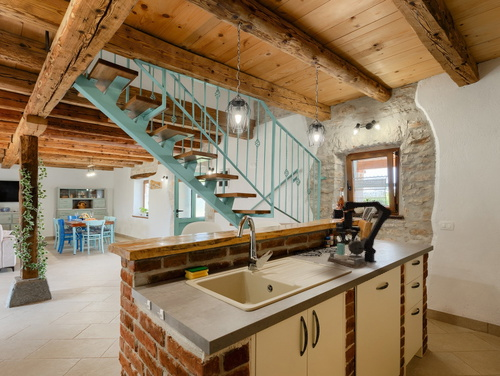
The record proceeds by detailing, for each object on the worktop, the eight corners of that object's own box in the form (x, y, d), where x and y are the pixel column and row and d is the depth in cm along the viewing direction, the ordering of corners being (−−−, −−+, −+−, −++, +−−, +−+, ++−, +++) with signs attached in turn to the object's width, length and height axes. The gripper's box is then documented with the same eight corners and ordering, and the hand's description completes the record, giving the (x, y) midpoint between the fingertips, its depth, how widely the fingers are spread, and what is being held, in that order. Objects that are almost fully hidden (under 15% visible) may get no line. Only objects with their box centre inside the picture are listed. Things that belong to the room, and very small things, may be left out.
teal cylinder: (341, 257, 196) (341, 242, 197) (347, 259, 191) (348, 244, 191) (333, 258, 193) (333, 243, 193) (340, 260, 188) (340, 245, 188)
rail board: (340, 258, 200) (340, 251, 200) (366, 265, 181) (366, 257, 181) (327, 260, 194) (327, 252, 194) (353, 267, 175) (353, 259, 175)
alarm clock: (362, 255, 212) (363, 233, 212) (365, 257, 207) (365, 234, 207) (347, 254, 213) (348, 233, 213) (349, 256, 208) (349, 234, 208)
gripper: (348, 217, 206) (348, 239, 206) (329, 218, 197) (329, 241, 197) (361, 219, 197) (360, 241, 196) (342, 220, 187) (342, 243, 187)
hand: (348, 241), depth 194 cm, fingers open, 9 cm apart
